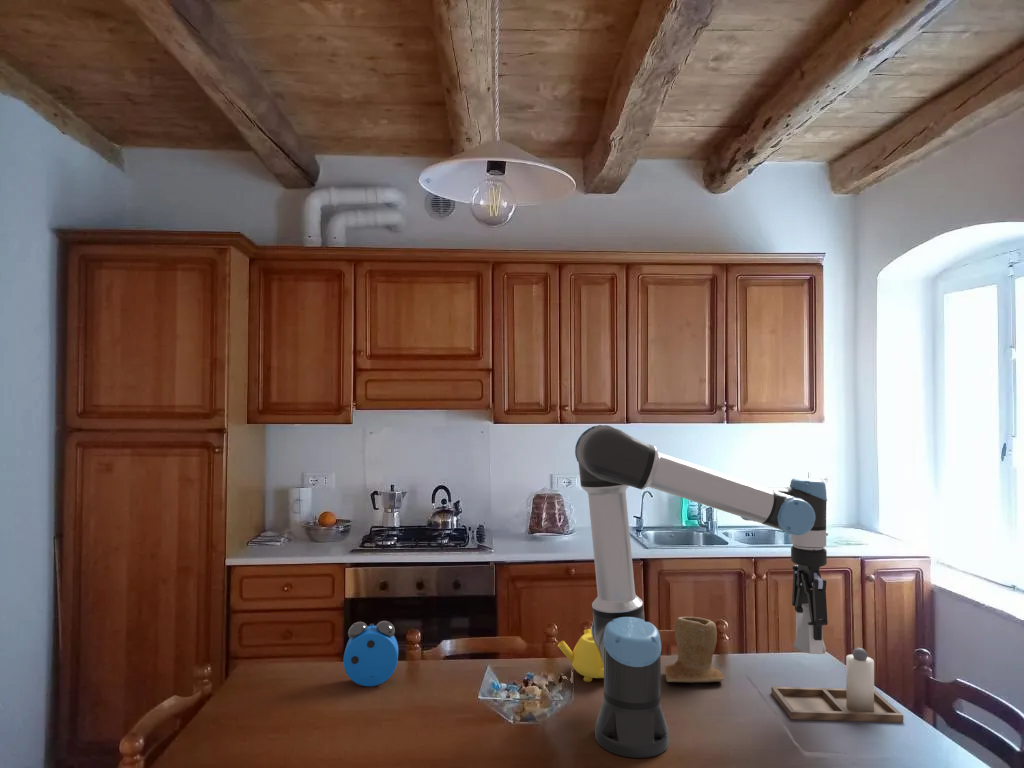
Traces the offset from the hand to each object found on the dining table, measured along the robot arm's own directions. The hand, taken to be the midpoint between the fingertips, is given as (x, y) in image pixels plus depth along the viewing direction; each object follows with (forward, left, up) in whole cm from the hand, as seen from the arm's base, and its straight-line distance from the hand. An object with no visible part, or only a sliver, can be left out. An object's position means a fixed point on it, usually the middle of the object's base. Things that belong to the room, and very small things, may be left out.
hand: (809, 646), depth 155 cm
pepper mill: (+11, 0, -13) cm, 18 cm away
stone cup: (-23, +16, -15) cm, 32 cm away
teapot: (-48, +17, -15) cm, 53 cm away
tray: (+6, 0, -14) cm, 15 cm away
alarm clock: (-103, +8, -15) cm, 105 cm away
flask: (0, 0, -1) cm, 1 cm away
